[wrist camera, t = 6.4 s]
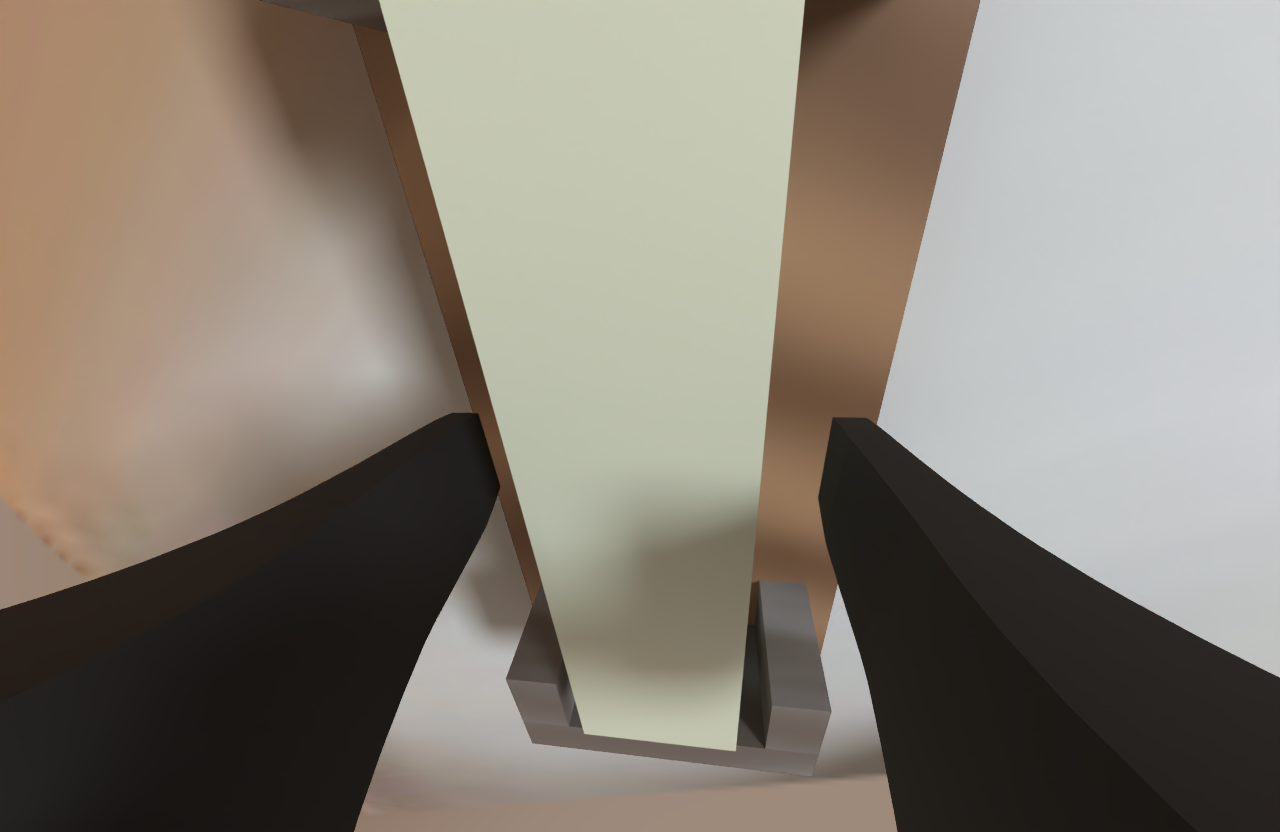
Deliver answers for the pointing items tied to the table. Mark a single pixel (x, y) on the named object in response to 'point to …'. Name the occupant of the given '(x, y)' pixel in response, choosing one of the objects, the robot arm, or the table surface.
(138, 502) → the table surface
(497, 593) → the table surface
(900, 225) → the cradle
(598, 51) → the slat
